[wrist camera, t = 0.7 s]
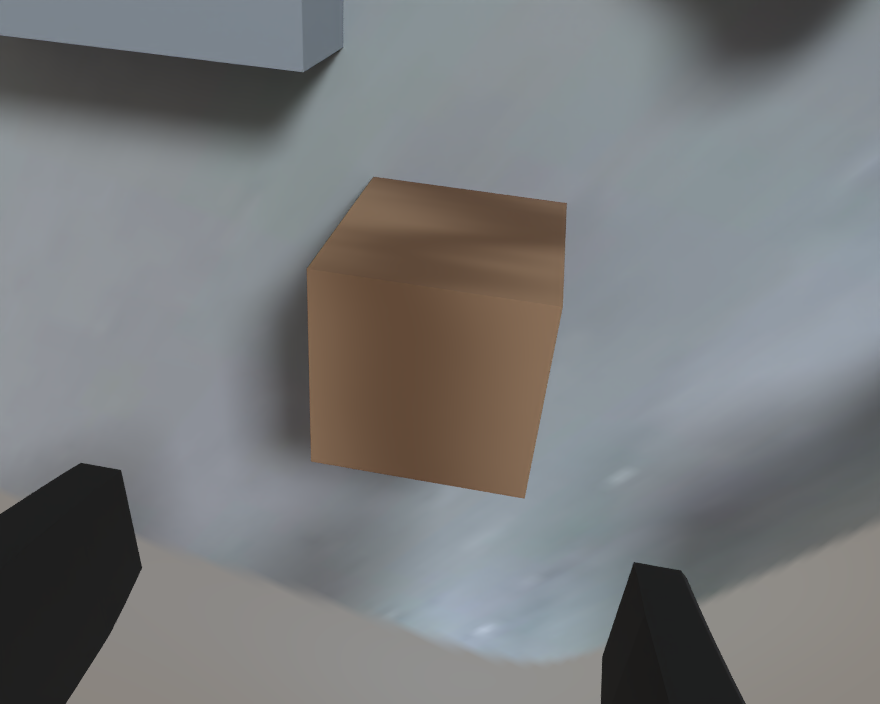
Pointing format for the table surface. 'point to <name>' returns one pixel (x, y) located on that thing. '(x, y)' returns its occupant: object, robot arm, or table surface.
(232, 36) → the slate block
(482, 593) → the table surface
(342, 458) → the walnut block
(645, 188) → the table surface
